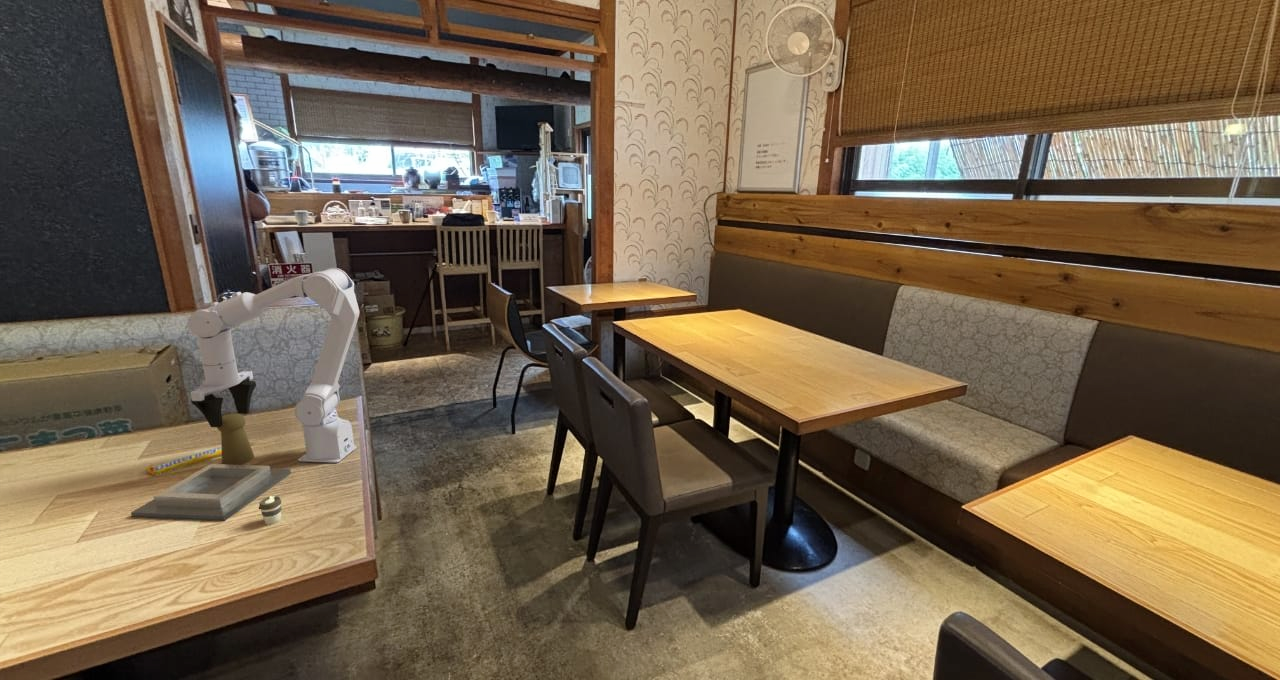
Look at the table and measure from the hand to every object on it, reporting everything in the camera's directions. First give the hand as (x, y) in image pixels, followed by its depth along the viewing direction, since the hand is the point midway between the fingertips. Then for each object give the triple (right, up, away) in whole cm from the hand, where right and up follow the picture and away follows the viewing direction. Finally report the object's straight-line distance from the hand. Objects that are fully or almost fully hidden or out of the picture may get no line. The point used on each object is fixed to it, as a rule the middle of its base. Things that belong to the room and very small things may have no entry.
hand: (230, 419), depth 118 cm
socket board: (+6, -13, -11) cm, 19 cm away
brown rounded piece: (0, -10, +3) cm, 10 cm away
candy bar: (-9, -10, +2) cm, 14 cm away
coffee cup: (+24, -17, -20) cm, 35 cm away
